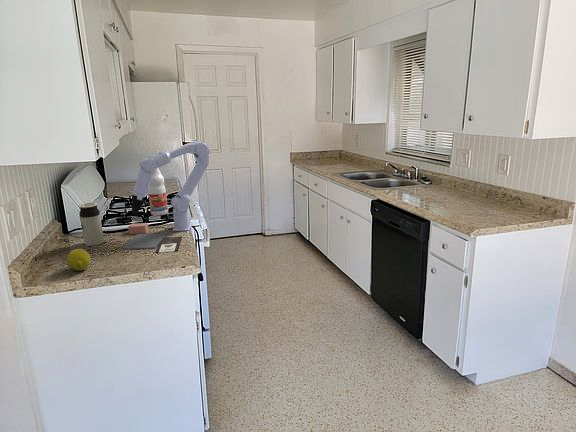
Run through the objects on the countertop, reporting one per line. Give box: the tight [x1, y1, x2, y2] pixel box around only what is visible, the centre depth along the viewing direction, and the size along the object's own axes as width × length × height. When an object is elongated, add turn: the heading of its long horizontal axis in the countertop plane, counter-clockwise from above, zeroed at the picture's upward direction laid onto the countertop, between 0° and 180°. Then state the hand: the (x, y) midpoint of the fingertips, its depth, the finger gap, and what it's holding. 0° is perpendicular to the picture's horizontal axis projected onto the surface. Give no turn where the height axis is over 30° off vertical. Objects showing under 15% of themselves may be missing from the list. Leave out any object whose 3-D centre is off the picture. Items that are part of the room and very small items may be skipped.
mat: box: [121, 233, 168, 250], centre depth 178 cm, size 18×14×1 cm
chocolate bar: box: [155, 235, 183, 254], centre depth 173 cm, size 9×1×18 cm
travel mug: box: [78, 202, 105, 247], centre depth 175 cm, size 8×8×18 cm
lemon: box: [66, 248, 91, 272], centre depth 149 cm, size 11×8×8 cm
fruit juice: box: [147, 167, 169, 216], centre depth 219 cm, size 9×9×28 cm
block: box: [127, 222, 150, 235], centre depth 191 cm, size 8×4×4 cm, turn 91°
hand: (134, 212), depth 182 cm, fingers open, 7 cm apart
